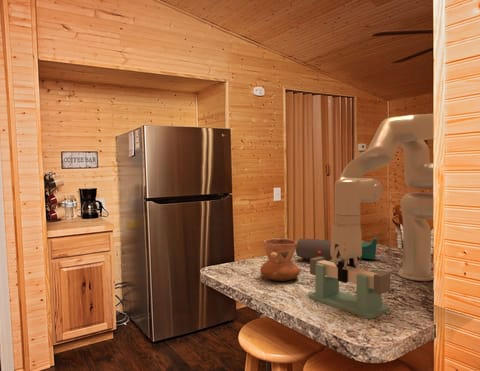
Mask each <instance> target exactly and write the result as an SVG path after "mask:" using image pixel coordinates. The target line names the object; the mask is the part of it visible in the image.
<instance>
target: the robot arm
mask: <svg viewBox="0 0 480 371" xmlns="http://www.w3.org/2000/svg"><path fill="white" fill-rule="evenodd" d="M433 114H434V113H426V114H423V113H422V114H421V113H420V114H408V115H399V116H397V115H396V116H390V117H388V118H385V119H384V120H382V121H381V122H380V124H379V126H378V128H377V130H376V131H375V134H374V135H373V138H372V140H371V142H370V144H369V145H368V148H367V149H366V150H364V151H363V152H362V153H360V154H359V155H357V156H356V157H355V158H353V159H352V160H351V161H350V162H349V163H347V165H346V166H345V167H344V168H343V170H342V172H341V173H340V175H339V177H338V179H337V180H336V181H335V183H334V225H333V226H332V230H331V239H330V241H331V250H330V254H331V257H332V260H331V261H332V262H333V263H335V265H336V267H337V268H338V281H339V283H341V282H342V283H343V284H346V283H349V282H348V270H347V269H346V267H347V266H350V267H354V268H358V266H359V264H358V262H359V258H360V257H361V256H362V242H363V238H362V237H363V235H362V227H361V215H362V214H361V206H362V204H361V203H368V204H369V203H374V202H377V201H379V200H380V199H381V197H382V195H383V193H384V192H383V191H384V188H383V185H382V183H381V182H380V181H379V180H377V179H375V178H371V177H369V178H368V177H362V176H364V175H365V174H367V173H369V172H372V171H375V170H377V169H380V168H383V167H385V166H387V165H388V164H390V163H391V162H392V161H393V159H394V157H395V155H396V153H397V151H398V148H399V147H400V146H401V149H402V151H403V166H404V168H403V172H404V173H403V174H404V175H403V176H404V183H405V185H406V186H407V188H410V189H416V190H432V191H434V190H433V163H434V162H431V160H430V149H429V146H428V145H427V143H426V142H425V141H427V140H433ZM433 193H434V192H420V191H419V192H415V191H413V192H408V193H406V194H404V195H403V196H402V197H401V199H400V211H401V216H402V229H403V230H402V268H401V269H399V270H398V276H399V277H401V278H403V279H406V280H411V281H418V282H419V281H420V282H421V281H422V282H429V281H430V282H431V281H433V273H434V272H432V268H434V267H433V264H434V263H433V262H432V230H431V229H432V228H431V226H430V224H429V223H428V221H427V220H433ZM351 258H352V259H351ZM347 259H348V264H347ZM341 260H342V261H343V263H342V262H341Z"/></svg>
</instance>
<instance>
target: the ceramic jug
mask: <svg viewBox="0 0 480 371" xmlns="http://www.w3.org/2000/svg"><path fill="white" fill-rule="evenodd" d="M297 242H298V241H296V240H294V239H289V238H283V237H282V238H278V237H276V238H275V237H274V238H267V239H264V240H263V246H264V250H265V253H266V254H265V255H266V257H267V258H268V260H267V261H265V262H264V263H263V264H262V265H261V267H260V274H261V275H262V276H263V277H264V278H265V279H268V280H271V281H275V282H286V281H292V280H294V279H296V278H297V277H298V276H299V273H300V268H299V267H298V265H296V264H295V263H294V262H293V261H292V258H293V256H294V254H295V252H296V246H297Z"/></svg>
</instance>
